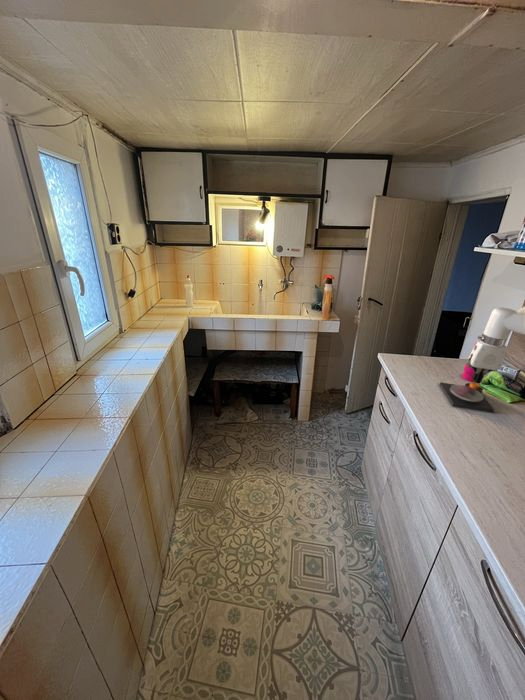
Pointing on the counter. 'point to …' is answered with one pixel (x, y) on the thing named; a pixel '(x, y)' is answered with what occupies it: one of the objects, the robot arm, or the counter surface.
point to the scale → (459, 402)
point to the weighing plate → (466, 393)
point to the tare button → (474, 385)
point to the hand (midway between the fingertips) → (475, 381)
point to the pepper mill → (468, 372)
